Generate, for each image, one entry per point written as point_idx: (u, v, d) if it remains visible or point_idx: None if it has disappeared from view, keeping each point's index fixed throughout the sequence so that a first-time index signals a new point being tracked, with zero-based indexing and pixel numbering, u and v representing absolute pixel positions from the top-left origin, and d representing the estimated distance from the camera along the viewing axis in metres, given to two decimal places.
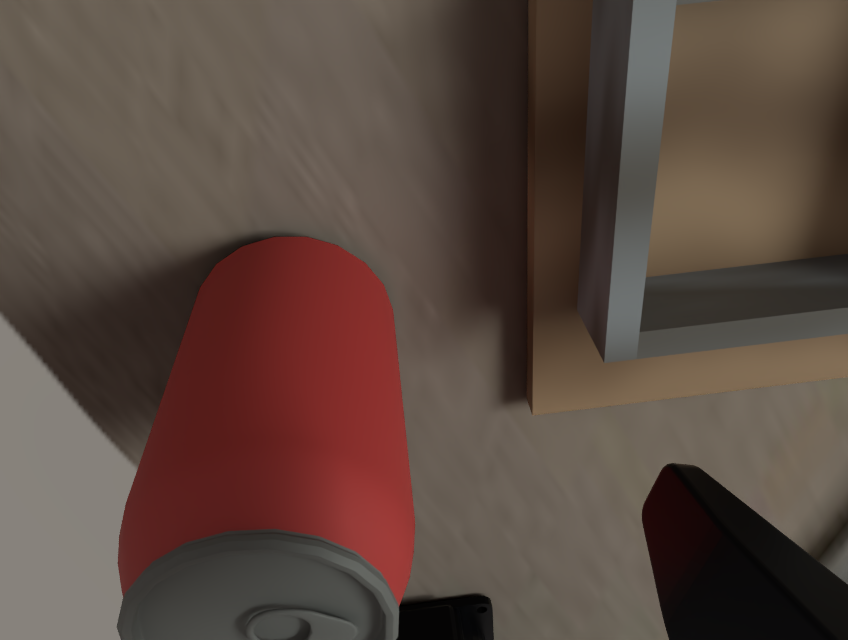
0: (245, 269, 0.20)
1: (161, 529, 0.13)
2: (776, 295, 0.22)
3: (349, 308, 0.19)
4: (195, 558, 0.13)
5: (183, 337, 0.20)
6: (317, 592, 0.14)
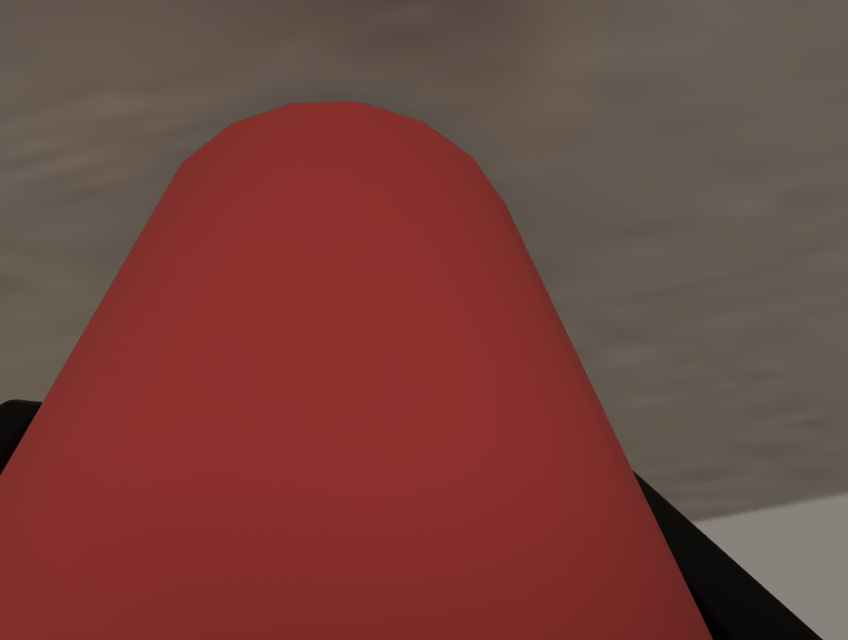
0: None
1: None
2: None
3: (149, 243, 0.08)
4: None
5: None
6: None
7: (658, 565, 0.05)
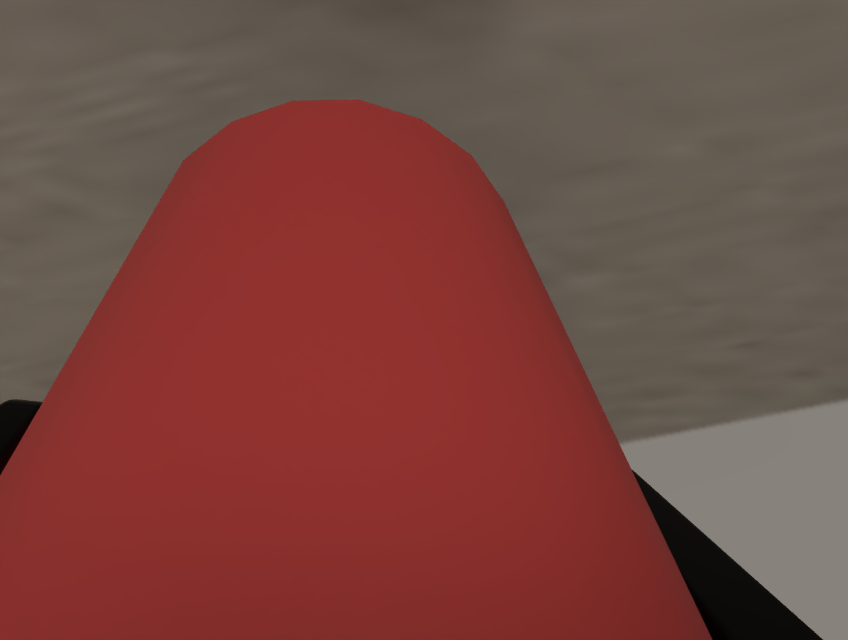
0: None
1: None
2: None
3: (151, 238, 0.08)
4: None
5: None
6: None
7: (651, 551, 0.05)
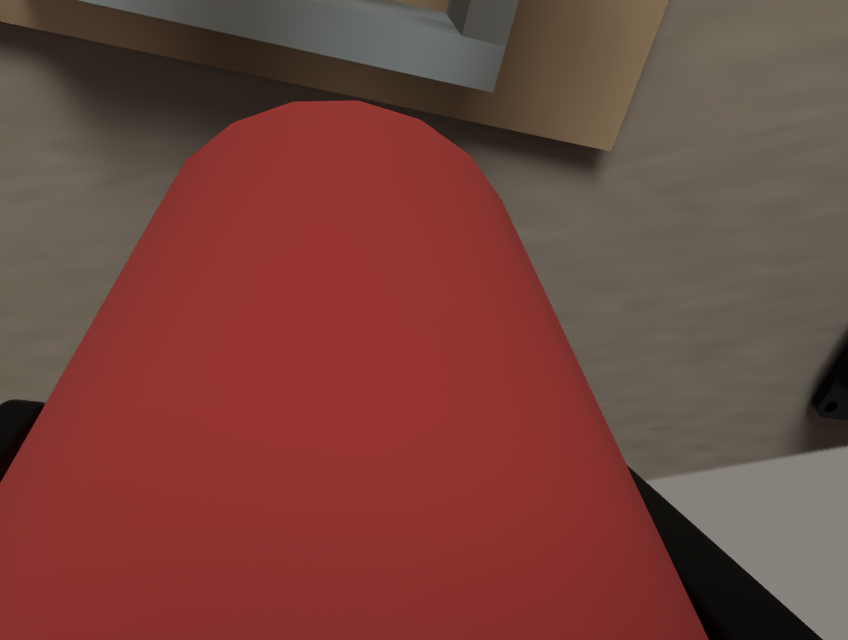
0: None
1: None
2: None
3: (154, 237, 0.08)
4: None
5: None
6: None
7: (641, 538, 0.05)
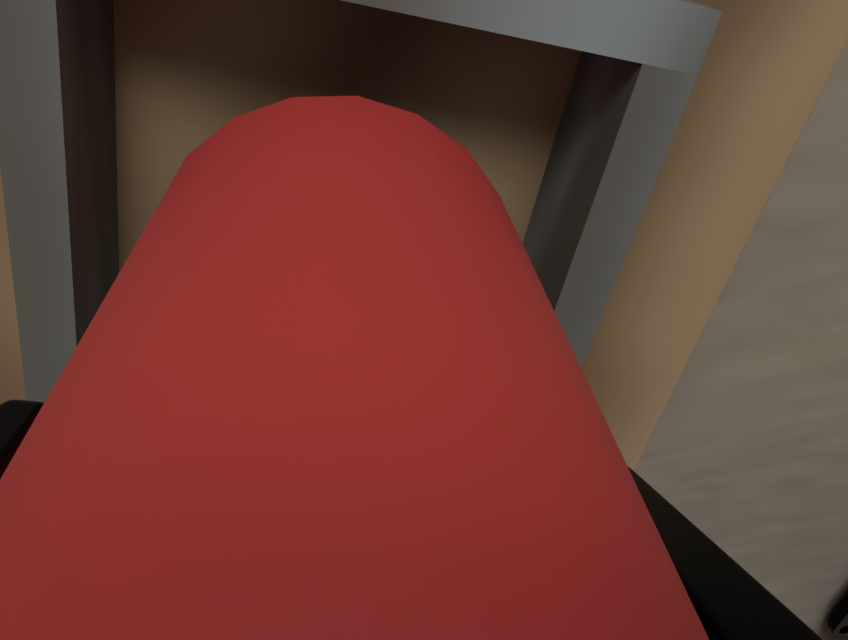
0: None
1: None
2: (549, 262, 0.15)
3: (156, 229, 0.09)
4: None
5: None
6: None
7: (630, 513, 0.05)
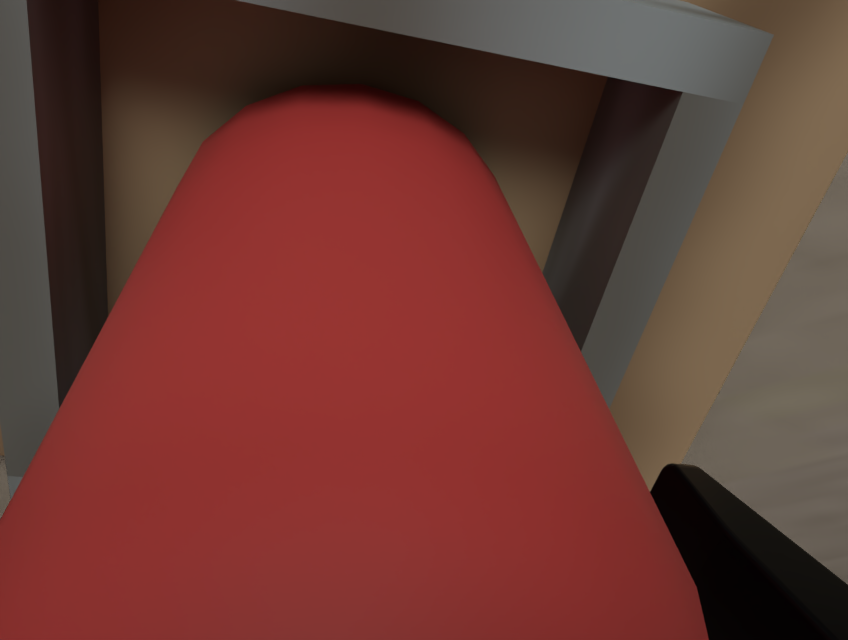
0: None
1: None
2: (572, 301, 0.13)
3: (181, 204, 0.09)
4: None
5: None
6: None
7: (606, 435, 0.06)
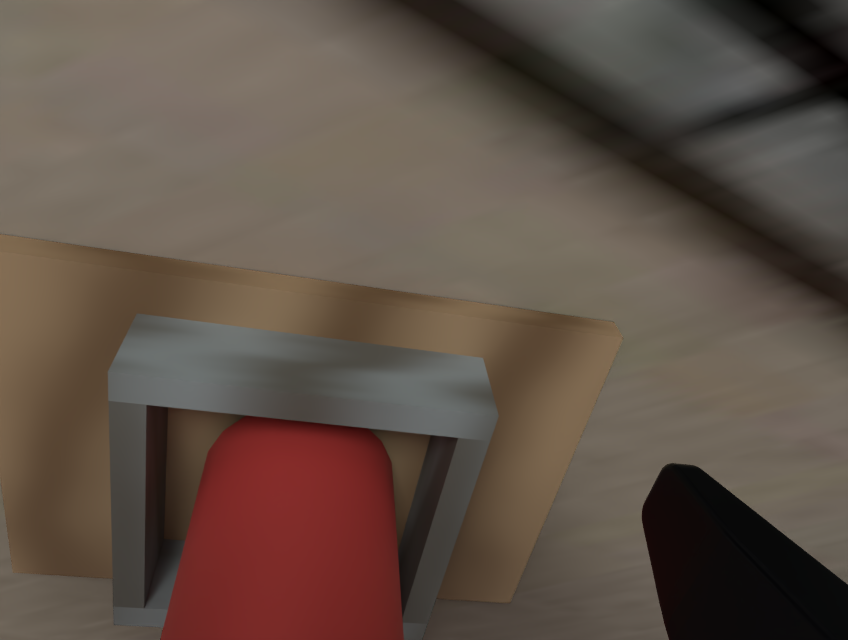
0: None
1: None
2: (425, 510, 0.24)
3: (214, 501, 0.20)
4: None
5: None
6: None
7: None
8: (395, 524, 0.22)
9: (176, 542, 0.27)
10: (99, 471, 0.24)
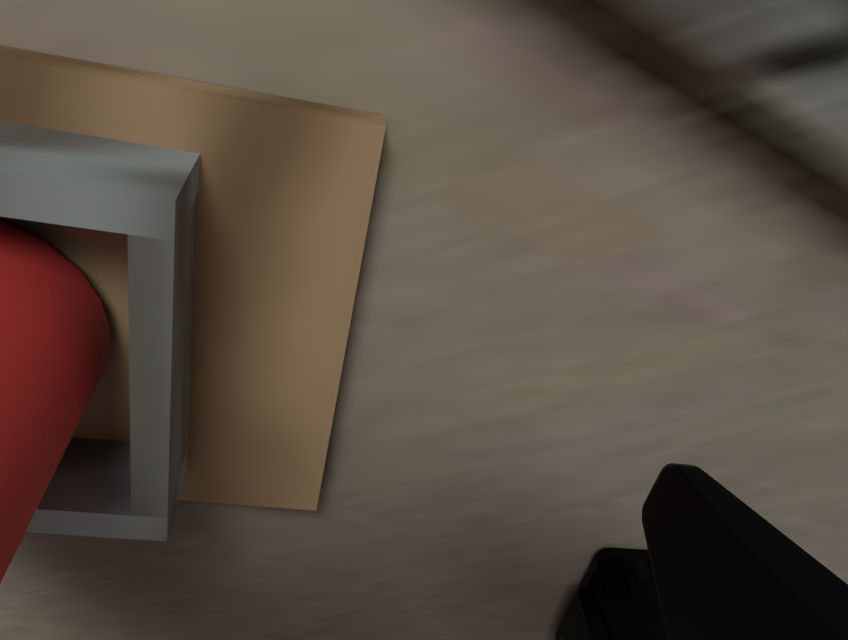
0: None
1: None
2: None
3: None
4: None
5: None
6: None
7: None
8: (63, 362, 0.16)
9: None
10: None
